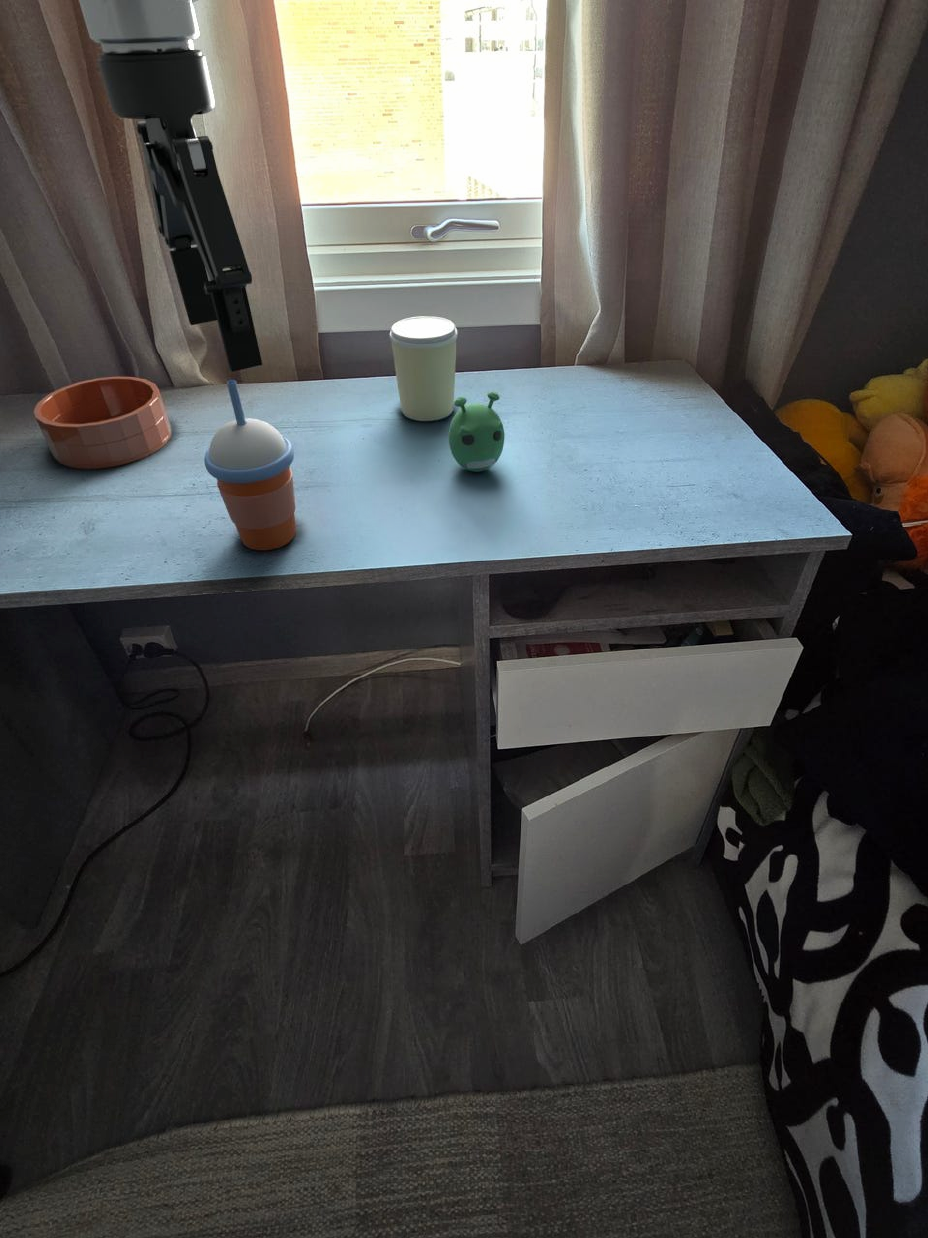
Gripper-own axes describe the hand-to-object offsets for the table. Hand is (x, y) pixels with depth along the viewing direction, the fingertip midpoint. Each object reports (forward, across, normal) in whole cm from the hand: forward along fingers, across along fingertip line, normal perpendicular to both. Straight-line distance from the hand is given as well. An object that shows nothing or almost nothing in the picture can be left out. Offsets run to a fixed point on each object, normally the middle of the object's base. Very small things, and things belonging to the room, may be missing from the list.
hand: (223, 343), depth 64 cm
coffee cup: (+22, +19, -31) cm, 42 cm away
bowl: (+22, +34, +11) cm, 42 cm away
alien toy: (+22, 0, -28) cm, 35 cm away
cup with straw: (+22, 0, 0) cm, 22 cm away
